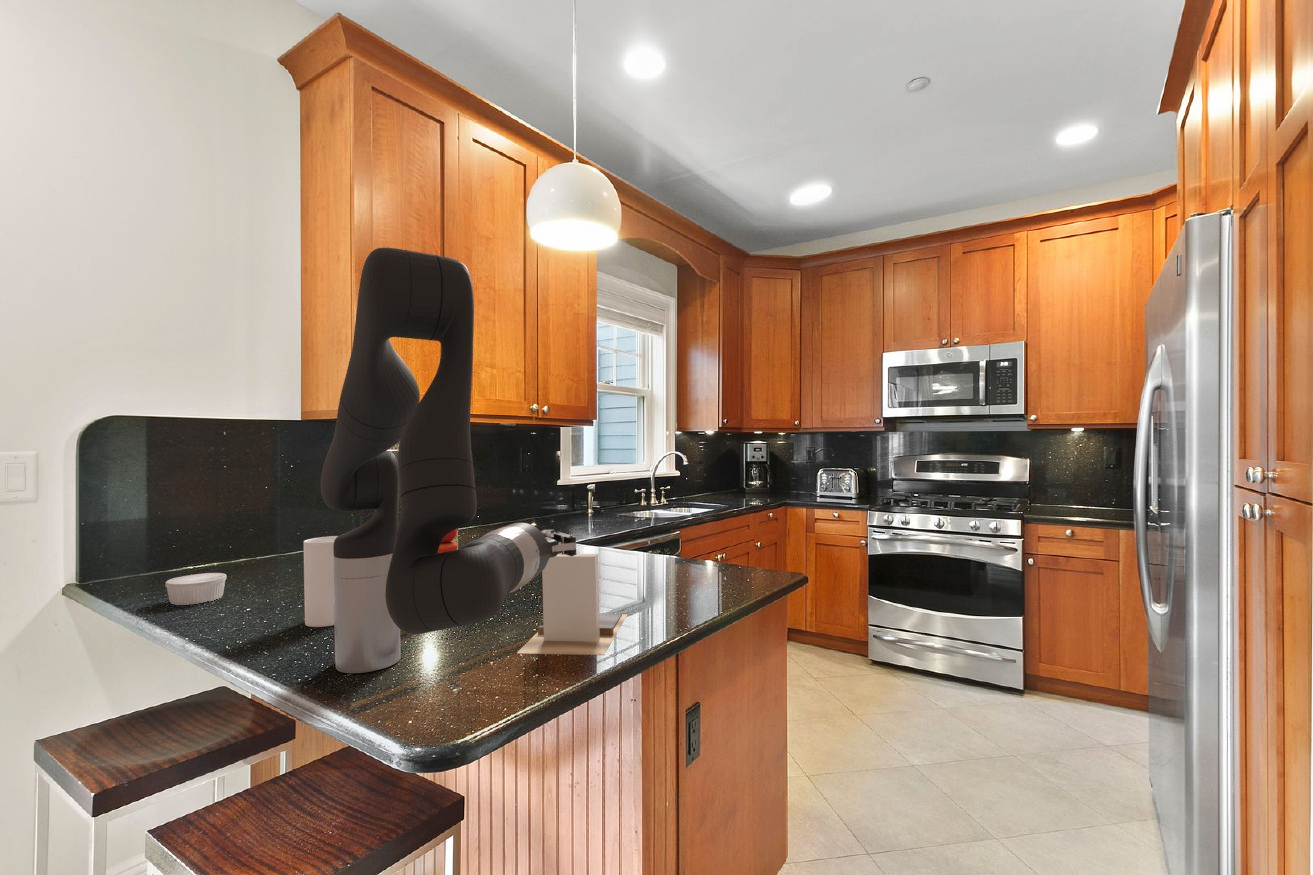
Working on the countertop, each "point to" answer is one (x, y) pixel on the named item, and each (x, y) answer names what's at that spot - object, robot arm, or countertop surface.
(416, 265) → the robot arm
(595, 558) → the tile
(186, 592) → the ramekin
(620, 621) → the board
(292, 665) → the countertop surface
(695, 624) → the countertop surface
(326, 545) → the cup
